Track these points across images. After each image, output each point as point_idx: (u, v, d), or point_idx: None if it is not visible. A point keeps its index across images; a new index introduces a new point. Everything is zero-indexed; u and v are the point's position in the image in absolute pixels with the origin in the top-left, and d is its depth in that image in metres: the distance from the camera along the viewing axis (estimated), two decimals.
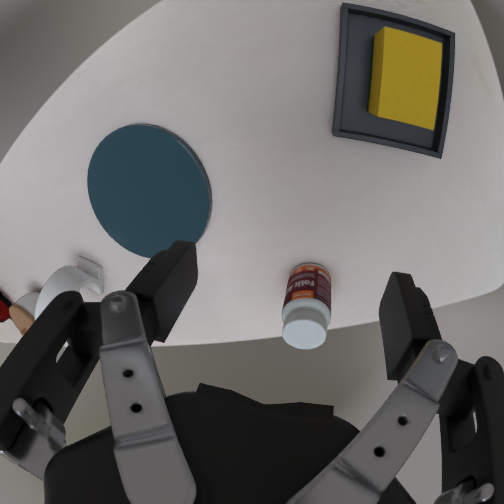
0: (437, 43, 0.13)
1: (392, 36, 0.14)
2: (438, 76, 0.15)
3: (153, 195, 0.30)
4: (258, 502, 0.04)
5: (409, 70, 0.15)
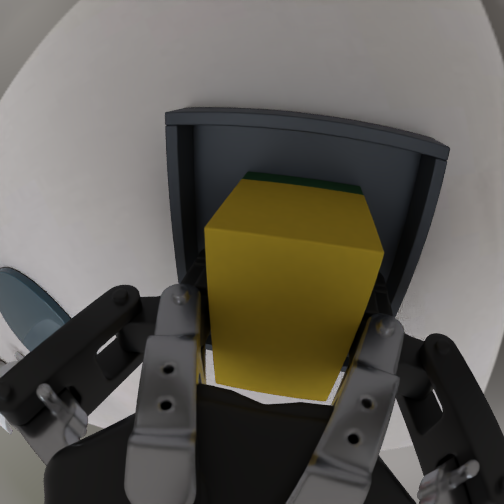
0: (367, 256, 0.07)
1: (226, 254, 0.08)
2: (351, 331, 0.08)
3: (46, 338, 0.23)
4: (258, 502, 0.04)
5: (273, 327, 0.09)
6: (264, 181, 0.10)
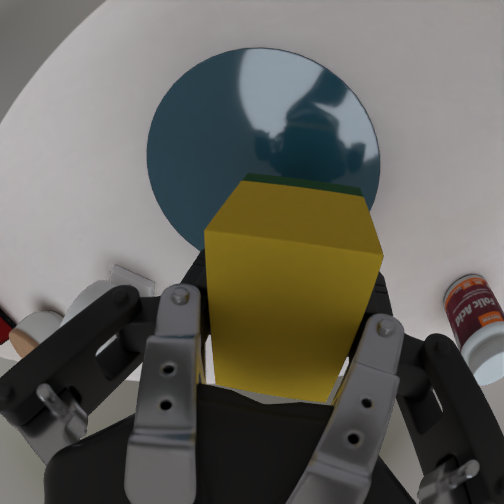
0: (367, 259, 0.07)
1: (226, 257, 0.08)
2: (350, 333, 0.08)
3: (281, 168, 0.18)
4: (258, 502, 0.04)
5: (273, 329, 0.09)
6: (263, 183, 0.10)
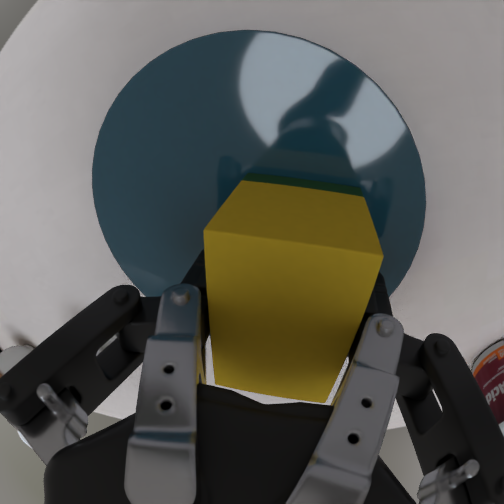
0: (367, 259, 0.07)
1: (225, 256, 0.08)
2: (350, 334, 0.08)
3: None
4: (258, 502, 0.04)
5: (272, 329, 0.09)
6: (263, 183, 0.10)
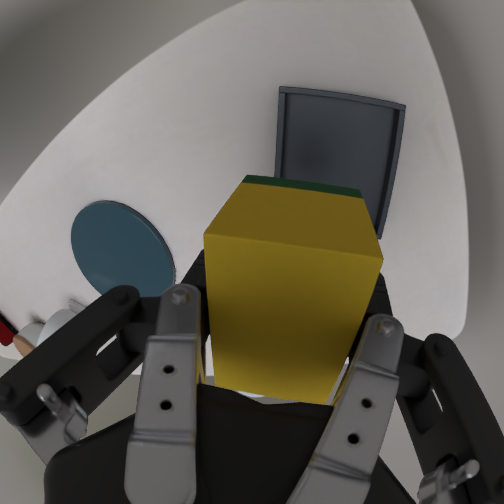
0: (367, 262, 0.07)
1: (225, 260, 0.08)
2: (350, 336, 0.08)
3: (126, 262, 0.34)
4: (258, 502, 0.04)
5: (272, 331, 0.09)
6: (263, 185, 0.10)
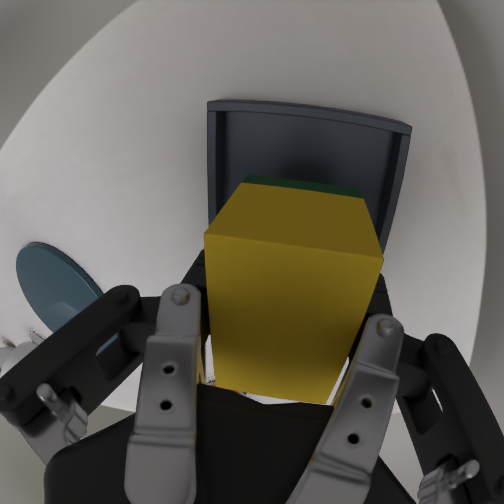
0: (367, 262, 0.07)
1: (226, 260, 0.08)
2: (350, 336, 0.08)
3: (69, 309, 0.27)
4: (258, 502, 0.04)
5: (273, 331, 0.09)
6: (263, 185, 0.10)
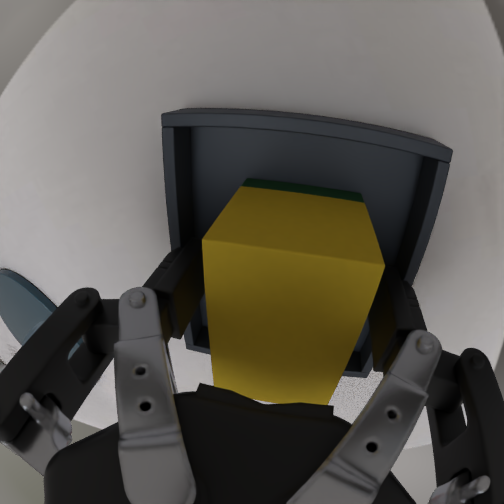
0: (368, 269, 0.07)
1: (224, 266, 0.07)
2: (351, 342, 0.08)
3: None
4: (258, 502, 0.04)
5: (272, 337, 0.09)
6: (263, 189, 0.10)
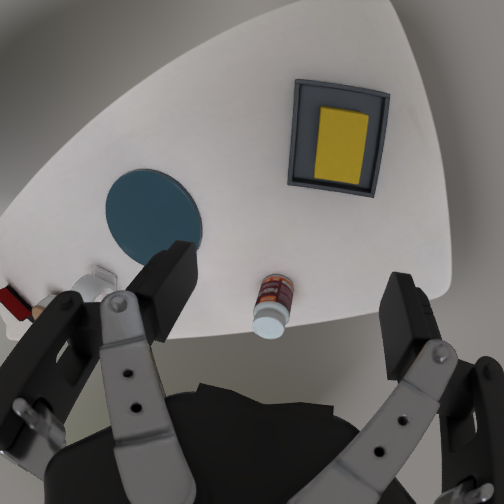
0: (364, 116, 0.24)
1: (327, 115, 0.25)
2: (363, 143, 0.25)
3: (158, 223, 0.40)
4: (258, 502, 0.04)
5: (339, 141, 0.26)
6: None
